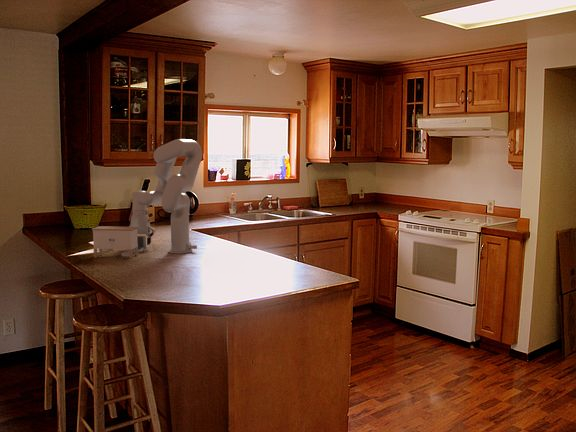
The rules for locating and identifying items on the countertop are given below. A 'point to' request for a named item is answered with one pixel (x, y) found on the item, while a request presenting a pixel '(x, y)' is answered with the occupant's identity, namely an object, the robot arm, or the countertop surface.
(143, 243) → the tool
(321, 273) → the countertop surface
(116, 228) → the cabinet
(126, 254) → the round metal knob
